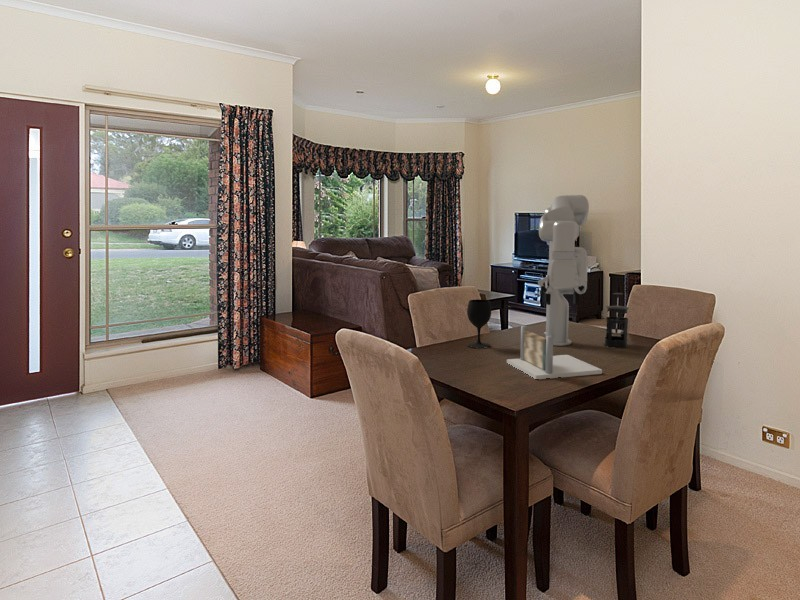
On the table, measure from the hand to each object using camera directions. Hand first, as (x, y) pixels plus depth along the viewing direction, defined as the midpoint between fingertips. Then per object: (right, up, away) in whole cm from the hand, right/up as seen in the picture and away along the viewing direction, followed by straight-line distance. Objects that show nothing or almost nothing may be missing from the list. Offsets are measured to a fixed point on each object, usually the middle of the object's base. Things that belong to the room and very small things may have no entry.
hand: (561, 304), depth 198 cm
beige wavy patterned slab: (-8, -22, +5) cm, 24 cm away
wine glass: (-23, -19, +44) cm, 53 cm away
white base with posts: (-1, -24, +7) cm, 25 cm away
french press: (+36, -18, +42) cm, 58 cm away
